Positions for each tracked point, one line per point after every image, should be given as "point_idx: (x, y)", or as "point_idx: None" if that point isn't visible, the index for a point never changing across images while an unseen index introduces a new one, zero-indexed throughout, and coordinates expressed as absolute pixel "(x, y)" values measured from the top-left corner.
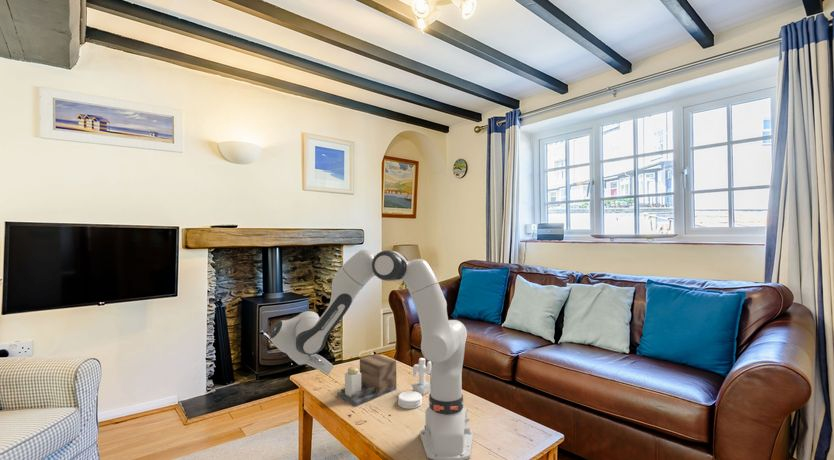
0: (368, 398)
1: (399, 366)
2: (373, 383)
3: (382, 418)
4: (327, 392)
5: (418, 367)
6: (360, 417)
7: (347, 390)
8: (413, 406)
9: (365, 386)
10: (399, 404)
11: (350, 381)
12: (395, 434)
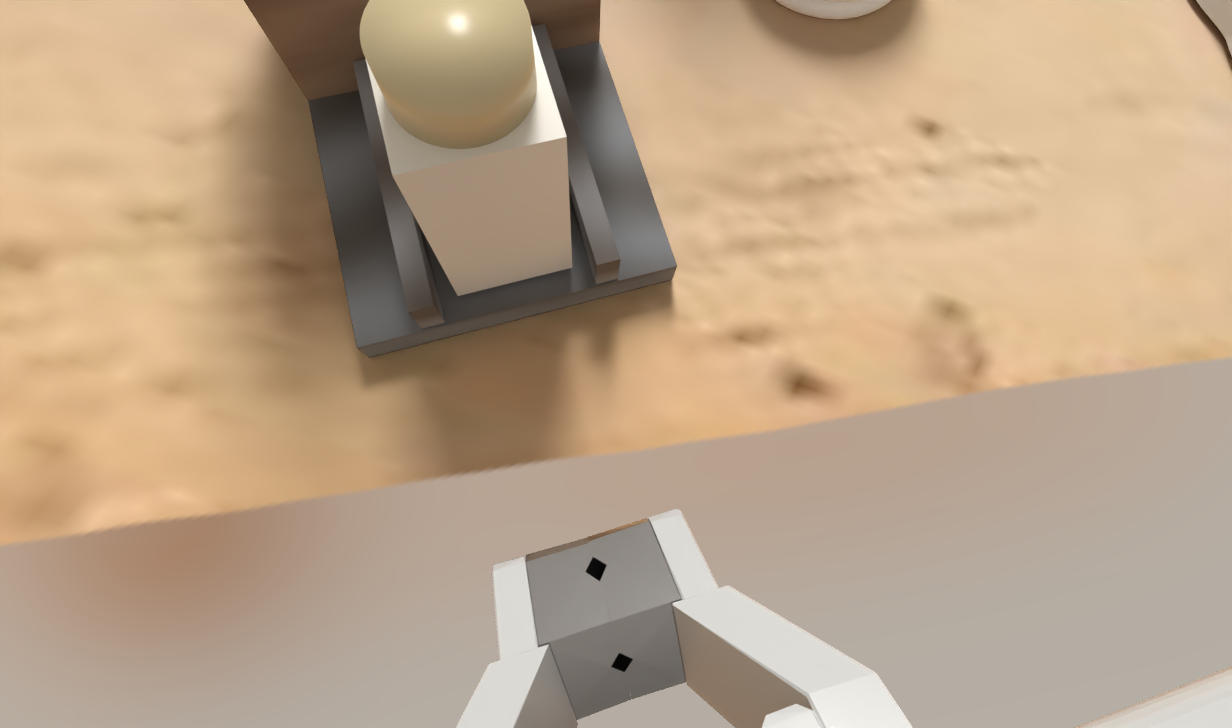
0: (634, 151)
1: None
2: None
3: (959, 190)
4: (220, 416)
5: None
6: (877, 321)
7: (493, 264)
8: None
9: None
10: (835, 9)
11: (540, 189)
12: (1204, 209)
